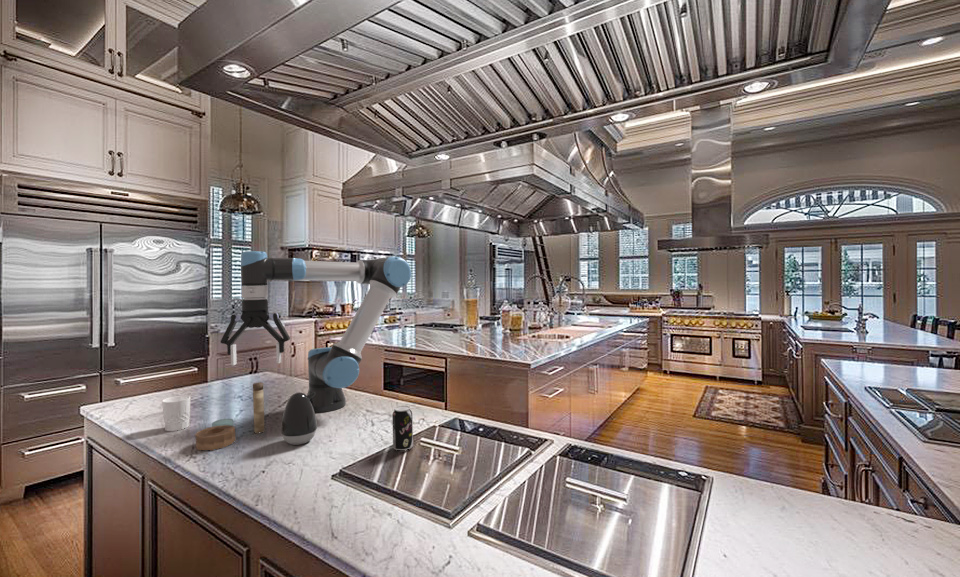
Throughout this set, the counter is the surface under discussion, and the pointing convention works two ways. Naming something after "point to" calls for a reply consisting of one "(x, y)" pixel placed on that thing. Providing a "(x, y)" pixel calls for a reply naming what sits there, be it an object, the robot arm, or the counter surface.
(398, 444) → the beverage can
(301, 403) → the black egg shaped speaker
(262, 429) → the tan wooden rod
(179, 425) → the white cup
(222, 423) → the small bead
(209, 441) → the wooden peg base
